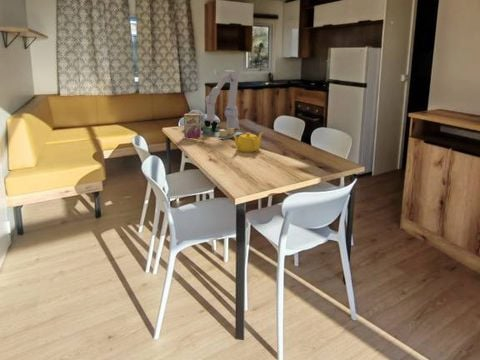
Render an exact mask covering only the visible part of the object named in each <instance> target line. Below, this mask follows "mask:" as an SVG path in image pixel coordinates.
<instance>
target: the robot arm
mask: <svg viewBox="0 0 480 360" xmlns="http://www.w3.org/2000/svg"><path fill="white" fill-rule="evenodd" d="M238 77H239V73H238V72H237V71H236V70H230V69H229V70H228V69H224V70H223V72H222V73H221V76H220V79H219V81H218V83H217V84H216V86H214V87H212V89H211V91H210V92H209V94H208V95H207V96H205V98H204V104H205V105H206V117H205V118H203V121H204V120H205V122H204V123H205V125H204V126H205V127H208V126H212V131H213V132H215V129H216V126H217V125H219V123H220V119H217V118H216V113H215V112H216V110H215V108H216V107H215V104H216V103H217V98H218V96H219V95H220V94H221V89H222V88H223V86H224V85H225V84H226V82H228V83H229V84H230V85H229V93H228V95H229V96H228V102H227V103H228V104H227V106H225V109H224V116H225V118H226V128H234V130H236V129H237V130H241V129H240V120H239V118H238V116H239V109H238V106H236V105H237V95H238V85H239V80H238Z"/></svg>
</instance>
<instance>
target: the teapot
mask: <svg viewBox="0 0 480 360" xmlns="http://www.w3.org/2000/svg"><path fill="white" fill-rule="evenodd" d="M263 134H264V132H260V133H259V134H258V136H257V134H253V133H251V132H245V133H244V134H243V135H240V136H237V137H236V136H233V138H234V144H235V147H236V149H237V150H238V151H239V152H241V153H254V151H255V152H258V151H259V150H260V147H261V146H260V144H261V142H262V135H263Z"/></svg>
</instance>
